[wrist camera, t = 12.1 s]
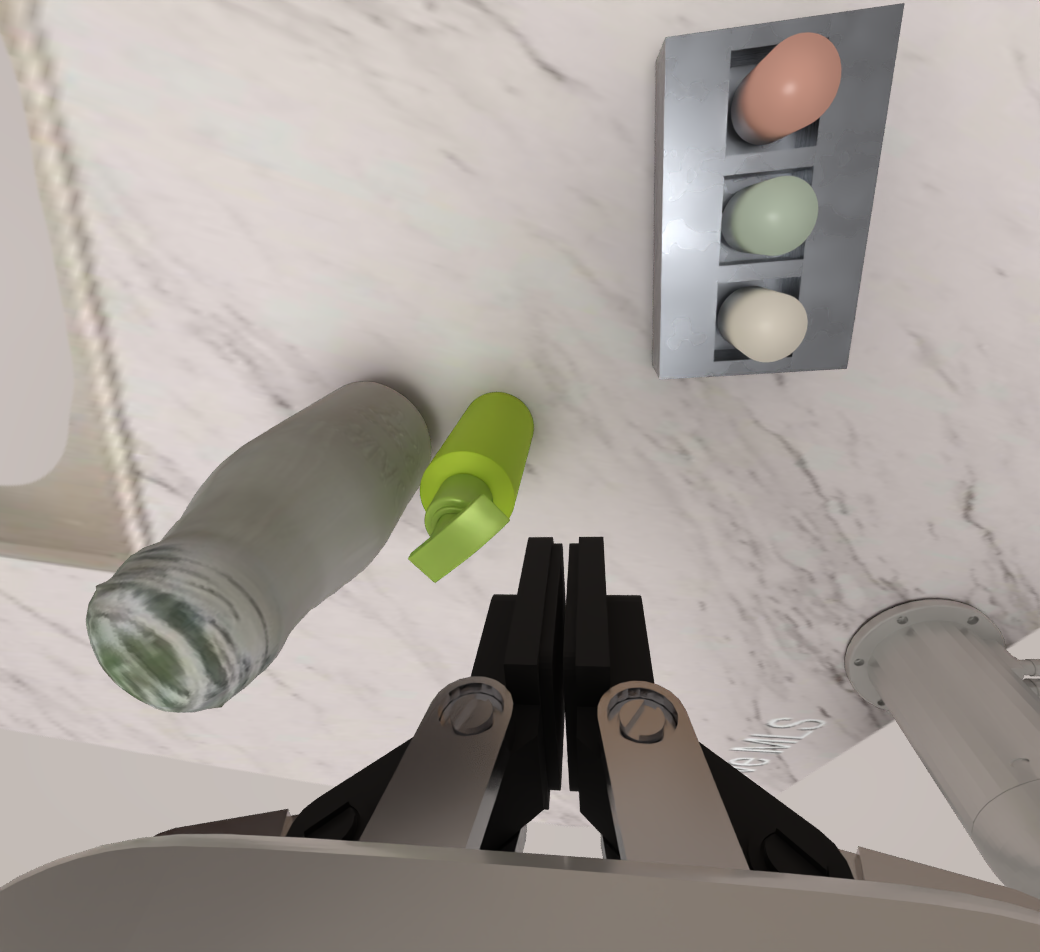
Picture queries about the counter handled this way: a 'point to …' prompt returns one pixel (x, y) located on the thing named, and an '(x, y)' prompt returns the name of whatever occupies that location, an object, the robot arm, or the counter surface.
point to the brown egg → (787, 89)
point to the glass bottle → (260, 549)
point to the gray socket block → (737, 164)
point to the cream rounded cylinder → (762, 323)
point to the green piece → (770, 216)
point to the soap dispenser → (473, 482)
